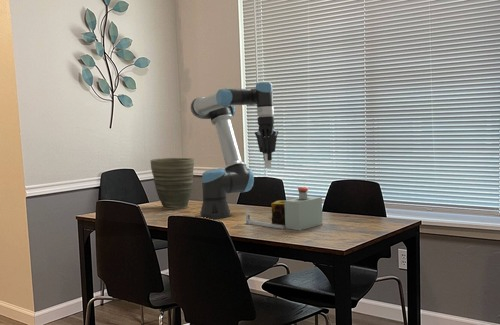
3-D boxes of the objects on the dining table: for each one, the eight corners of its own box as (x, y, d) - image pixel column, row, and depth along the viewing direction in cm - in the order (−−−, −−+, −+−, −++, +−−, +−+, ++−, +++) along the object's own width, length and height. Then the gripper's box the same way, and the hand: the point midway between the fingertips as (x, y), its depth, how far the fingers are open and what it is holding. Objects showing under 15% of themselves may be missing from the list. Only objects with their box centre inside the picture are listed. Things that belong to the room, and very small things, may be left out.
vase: (199, 210, 305) (190, 156, 299) (156, 217, 305) (146, 163, 299) (203, 198, 329) (194, 148, 323) (162, 204, 329) (153, 154, 323)
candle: (292, 226, 249) (292, 204, 248) (271, 225, 253) (270, 203, 252) (299, 222, 258) (298, 200, 258) (278, 221, 262) (277, 200, 261)
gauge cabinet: (283, 228, 246) (282, 200, 245) (306, 222, 257) (305, 196, 256) (299, 230, 239) (298, 202, 238) (322, 224, 251) (321, 197, 250)
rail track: (246, 223, 259) (245, 215, 259) (274, 217, 273) (273, 208, 273) (282, 228, 244) (282, 219, 243) (310, 221, 258) (310, 213, 257)
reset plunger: (296, 206, 247) (295, 188, 247) (302, 204, 250) (302, 186, 250) (304, 207, 244) (303, 188, 244) (310, 205, 247) (310, 187, 247)
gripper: (249, 117, 260) (252, 168, 261) (270, 115, 251) (273, 168, 252) (260, 116, 265) (263, 166, 267) (281, 115, 256) (284, 167, 258)
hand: (268, 167), depth 259 cm, fingers closed
